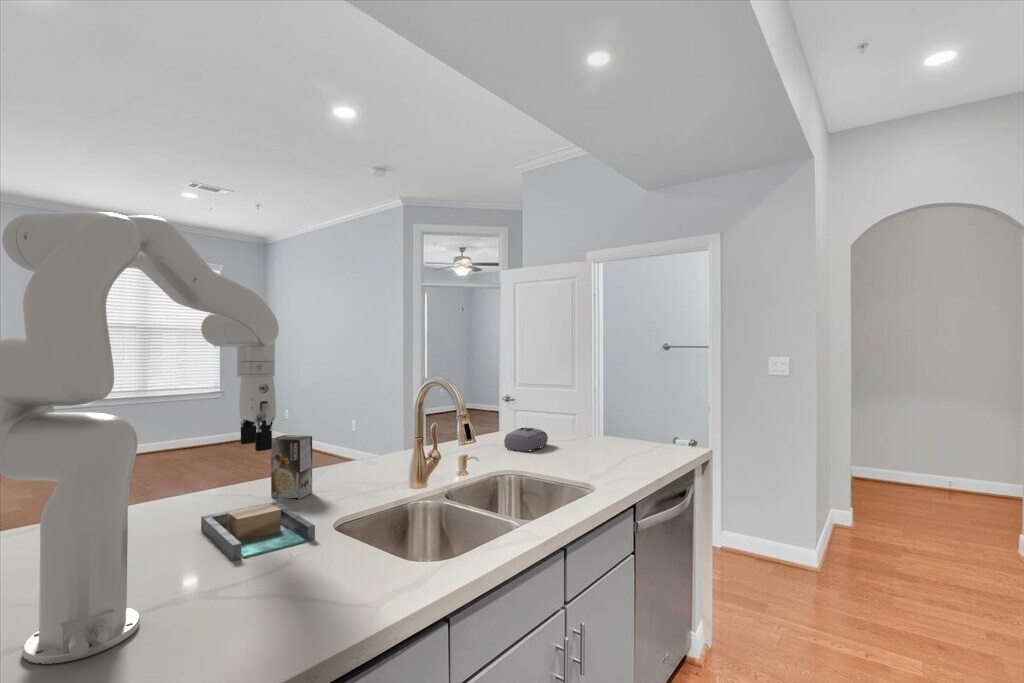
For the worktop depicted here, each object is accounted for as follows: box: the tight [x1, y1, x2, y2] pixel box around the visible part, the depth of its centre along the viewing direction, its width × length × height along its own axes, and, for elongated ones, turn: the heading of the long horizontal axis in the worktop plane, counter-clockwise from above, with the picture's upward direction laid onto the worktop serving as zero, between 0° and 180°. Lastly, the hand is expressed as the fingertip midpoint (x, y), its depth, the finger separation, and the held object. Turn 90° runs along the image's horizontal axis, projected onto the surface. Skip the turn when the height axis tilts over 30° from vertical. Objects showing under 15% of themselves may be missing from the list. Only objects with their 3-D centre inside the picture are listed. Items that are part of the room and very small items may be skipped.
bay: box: [200, 501, 316, 562], centre depth 112 cm, size 23×16×3 cm
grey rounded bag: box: [503, 427, 549, 452], centre depth 211 cm, size 15×8×20 cm
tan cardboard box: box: [226, 503, 282, 541], centre depth 113 cm, size 6×9×5 cm, turn 136°
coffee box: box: [270, 434, 313, 500], centre depth 142 cm, size 9×6×16 cm
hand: (255, 446), depth 114 cm, fingers open, 9 cm apart
